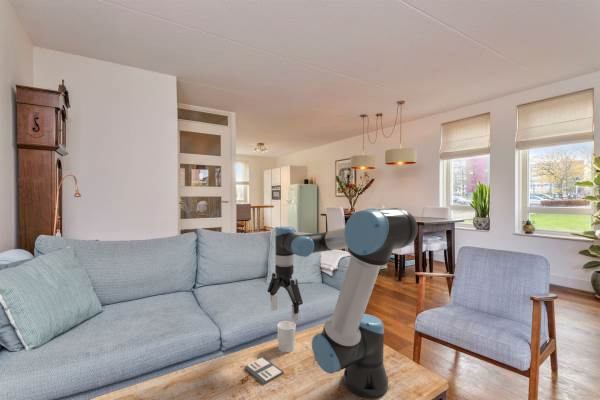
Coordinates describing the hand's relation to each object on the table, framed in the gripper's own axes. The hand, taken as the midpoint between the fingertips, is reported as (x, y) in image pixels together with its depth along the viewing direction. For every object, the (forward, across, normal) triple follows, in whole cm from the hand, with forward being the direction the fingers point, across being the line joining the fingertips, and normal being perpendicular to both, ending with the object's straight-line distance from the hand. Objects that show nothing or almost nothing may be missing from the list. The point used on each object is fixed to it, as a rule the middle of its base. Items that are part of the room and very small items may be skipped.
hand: (284, 315), depth 119 cm
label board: (+15, -6, +14) cm, 21 cm away
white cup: (+15, +1, -2) cm, 15 cm away
